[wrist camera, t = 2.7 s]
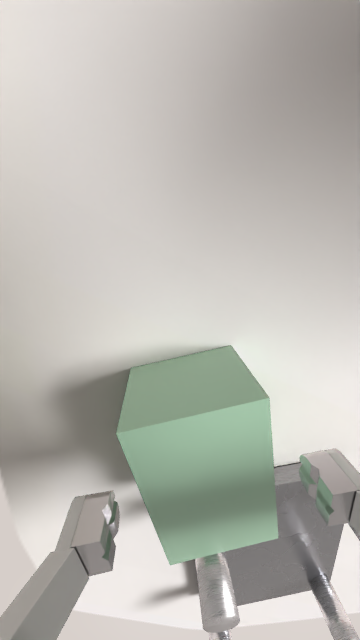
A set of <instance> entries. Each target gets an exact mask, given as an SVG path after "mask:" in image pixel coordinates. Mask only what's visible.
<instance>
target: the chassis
mask: <svg viewBox="0 0 360 640" xmlns="http://www.w3.org/2000/svg"><path fill="white" fill-rule="evenodd" d="M344 457H345V456H344ZM345 458H346V457H345ZM301 465H302V463H297V464H292V465H286V466H281V467H275V468H274V477H275V493H276V508H277V524H278V539H274V540H269V541H265V542H261V543H257V544H253V545H249V546H245V547H241V548H237V549H233V550H229V551H225V552H221V553H217V554H213V555H209V556H205V557H201V558H197V559H194V560H195V566H196V571H197V580H198V588H199V597H200V606H201V614H202V623H203V629H204V630H205V631H207V632H208V633H209V640H232V638H231V632H230V629H232V628H234V627H235V626H237V625H238V623H239V622H240V618H239V614H238V609H237V606H239V605H244V604H249V603H253V602H258V601H263V600H267V599H272V598H277V597H281V596H286V595H291V594H295V593H300V592H305V591H309V590H312V591H313V594H314V596H315V598H316V600H317V603H318V605H319V607H320V609H321V612H322V614H323V616H324V618H325V621H326V623H327V625H328V627H329V629H330V632H331V634H332V636H333V639H334V640H360V639H359V637H358V635H357V634H356V632H355V630H354V628H353V626H352V624H351V622H350V620H349V618H348V616H347V614H346V612H345V610H344V608H343V606H342V604H341V602H340V600H339V598H338V596H337V594H336V592H335V590H334V588H333V586H332V584H331V582H330V579H331V575H332V571H333V567H334V563H335V559H336V555H337V550H338V546H339V542H340V538H341V534H342V530H343V526H344V524H338V525H332V526H327V524H326V523H325V521H324V519H323V518H322V516H321V514H320V513H319V511H318V510H317V508H316V506H315V499H314V498H313V497H311V496H310V495H309V494H308V493H307V492H306V490H305V488H304V486H303V484H302V482H301V479H300V475H299V468H300V466H301ZM348 524H349V523H348ZM349 526H350V527H351V528H352V530H353V531H354V533H355V534H356V536H357V537H358V539H359V540H360V533H359V532H358V531H357V530H356V529H354V528H353V527H352V526H351V525H350V524H349Z"/></svg>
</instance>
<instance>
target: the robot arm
mask: <svg viewBox="0 0 360 640" xmlns="http://www.w3.org/2000/svg"><path fill="white" fill-rule="evenodd" d="M300 462H301V463H302V465H301V466H300V468H299V475H300V479H301V482H302V484H303V486H304V488H305V490H306V492H307V493H308V494H309V495H310V496H311V497H313V498H314V499H315V506H316V508H317V510H318V511H319V513H320V514H321V516H322V518H323V519H324V521H325V523H326V524H327V526H332V525H338V524H344V523H349V524H350V525H351V526H352V527H353V528H354V529H356V530H357V531H358V532H359V533H360V473H359V472H358V471H357V470H356V469H355V468H354V466H353V465H352V464H351V463H350V462H349V461H348V460H347V459H346V458H345V457H344V455H343V454H342V453H341V452H340V451H339V450H337V449H334V448H333V449H328V450H322V451H317V452H312V453H307V454H302V455H301V456H300ZM114 499H115V494H114V492H113V490H112V491H106V492H101V493H95V494H90V495H83V496H78V497H75V498H74V500H73V501H72V503H71V506H70V509H69V512H68V515H67V518H66V520H65V523H64V526H63V529H62V532H61V535H60V538H59V541H58V543H57V546H56V549H55V551H54V552H50V554H49V555H48V556H47V558H46V559H45V560H44V562H43V563H42V564H41V565H40V567H39V568H38V569H37V571H36V572H35V573H34V574H33V576H32V577H31V578H30V580H29V581H28V582H27V583H26V585H25V586H24V587H23V589H22V590H21V591H20V593H19V594H18V595H17V596H16V598H15V599H14V600H13V602H12V603H11V604H10V606H9V607H8V608H7V609H6V611H5V612H4V613H3V615H2V616H1V617H0V640H56V639H57V637H58V636H59V634H60V632H61V630H62V628H63V626H64V624H65V622H66V621H67V619H68V617H69V615H70V613H71V611H72V609H73V607H74V606H75V604H76V602H77V600H78V598H79V596H80V594H81V593H82V591H83V589H84V587H85V585H86V583H87V581H88V579H89V577H88V576H92V575H97V574H101V573H105V572H109V571H112V569H113V562H114V556H115V549H116V545H115V543H114V540H113V539H114V537H115V535H116V534H117V532H118V528H119V513H120V512H119V506H118V503H117V502H116V501H114Z"/></svg>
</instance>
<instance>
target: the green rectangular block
mask: <svg viewBox="0 0 360 640" xmlns="http://www.w3.org/2000/svg"><path fill="white" fill-rule="evenodd" d="M116 435H117V437H118V440H119V442H120V445H121V447H122V449H123V452H124V454H125V457H126V459H127V462H128V464H129V466H130V469H131V471H132V474H133V476H134V479H135V481H136V483H137V486H138V488H139V491H140V493H141V496H142V498H143V501H144V503H145V505H146V508H147V510H148V513H149V515H150V518H151V520H152V522H153V525H154V527H155V530H156V532H157V535H158V537H159V539H160V542H161V544H162V547H163V549H164V552H165V554H166V556H167V559H168V561H169V564H170V565H173V564H177V563H181V562H185V561H189V560H193V559H197V558H201V557H205V556H209V555H213V554H217V553H221V552H225V551H229V550H233V549H237V548H241V547H245V546H249V545H253V544H257V543H261V542H265V541H269V540H274V539H278V524H277V508H276V493H275V477H274V462H273V446H272V431H271V415H270V400H269V397H268V395H267V394H266V393H265V391H264V390H263V388H262V387H261V386H260V384H259V383H258V382H257V380H256V379H255V377H254V376H253V375H252V373H251V372H250V371H249V369H248V368H247V366H246V365H245V364H244V362H243V361H242V360H241V358H240V357H239V355H238V354H237V353H236V351H235V350H234V349H233V347H232V346H231V345H230V346H226V347H222V348H217V349H213V350H208V351H204V352H199V353H195V354H191V355H186V356H182V357H177V358H173V359H168V360H164V361H160V362H155V363H151V364H146V365H142V366H138V367H133V368H131V370H130V374H129V379H128V383H127V388H126V392H125V396H124V401H123V405H122V410H121V414H120V418H119V423H118V427H117V432H116Z"/></svg>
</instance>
